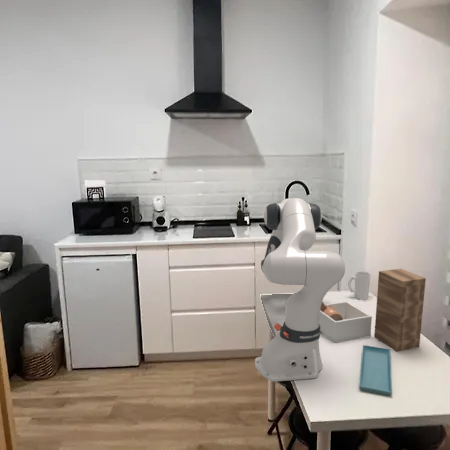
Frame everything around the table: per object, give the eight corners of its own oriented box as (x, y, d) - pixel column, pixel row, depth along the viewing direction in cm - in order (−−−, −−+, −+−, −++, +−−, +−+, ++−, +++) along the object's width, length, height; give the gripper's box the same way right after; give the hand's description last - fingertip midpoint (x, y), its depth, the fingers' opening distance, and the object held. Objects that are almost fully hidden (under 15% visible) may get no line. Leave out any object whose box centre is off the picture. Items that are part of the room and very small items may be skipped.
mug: (365, 294, 199) (367, 271, 197) (371, 300, 193) (372, 275, 190) (345, 295, 199) (346, 271, 197) (349, 300, 192) (351, 276, 190)
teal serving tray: (391, 398, 120) (392, 391, 119) (358, 392, 123) (359, 384, 122) (389, 355, 144) (390, 349, 143) (362, 351, 147) (362, 344, 146)
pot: (337, 314, 168) (346, 321, 161) (324, 325, 167) (332, 333, 161) (316, 286, 163) (325, 293, 156) (303, 298, 162) (311, 305, 156)
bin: (334, 342, 152) (335, 322, 151) (311, 324, 167) (312, 306, 165) (370, 336, 157) (371, 316, 156) (345, 319, 172) (346, 301, 170)
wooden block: (396, 351, 145) (402, 281, 140) (374, 336, 157) (379, 271, 151) (419, 347, 149) (425, 278, 143) (395, 332, 160) (401, 268, 155)
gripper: (281, 260, 184) (294, 251, 172) (321, 256, 191) (337, 247, 178) (284, 274, 182) (298, 266, 170) (324, 269, 189) (340, 262, 176)
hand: (318, 256), depth 174 cm, fingers open, 8 cm apart
